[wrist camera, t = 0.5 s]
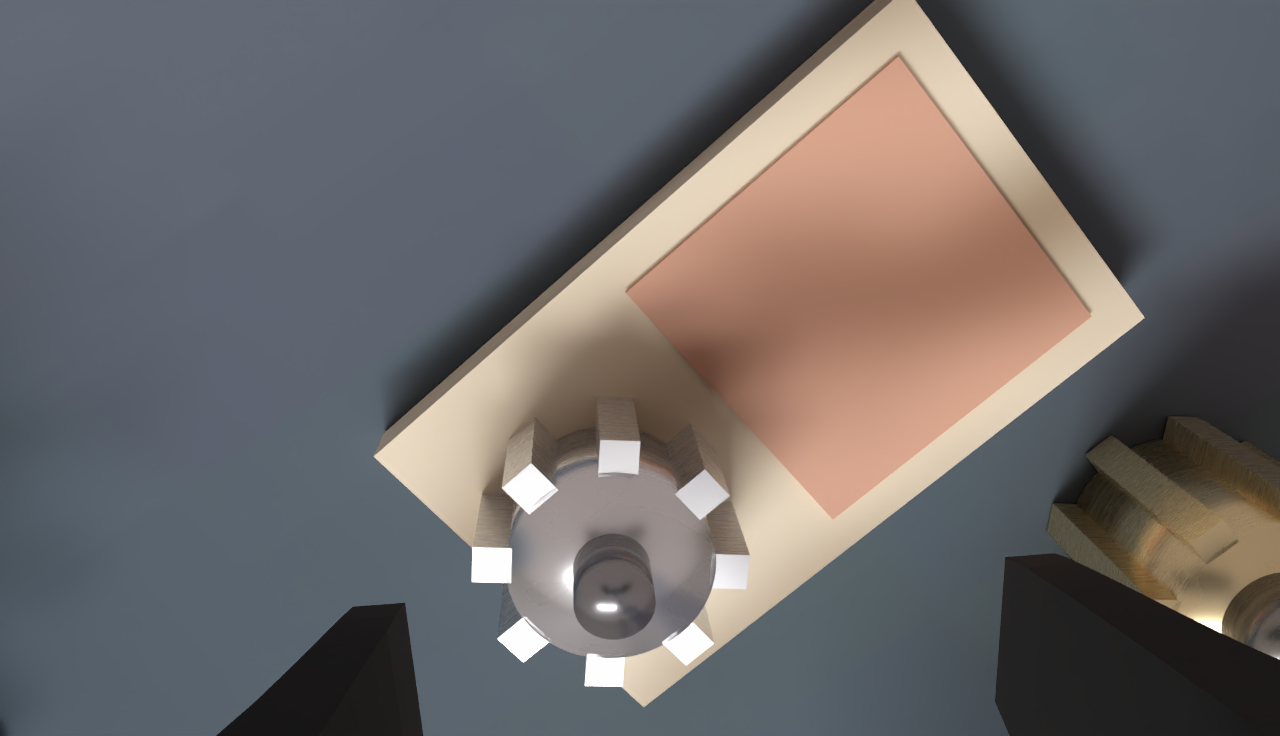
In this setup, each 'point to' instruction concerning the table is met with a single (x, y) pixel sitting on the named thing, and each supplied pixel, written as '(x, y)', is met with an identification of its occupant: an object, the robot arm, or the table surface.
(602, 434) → the sun gear
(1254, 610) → the planet gear
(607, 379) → the plate
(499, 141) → the table surface
